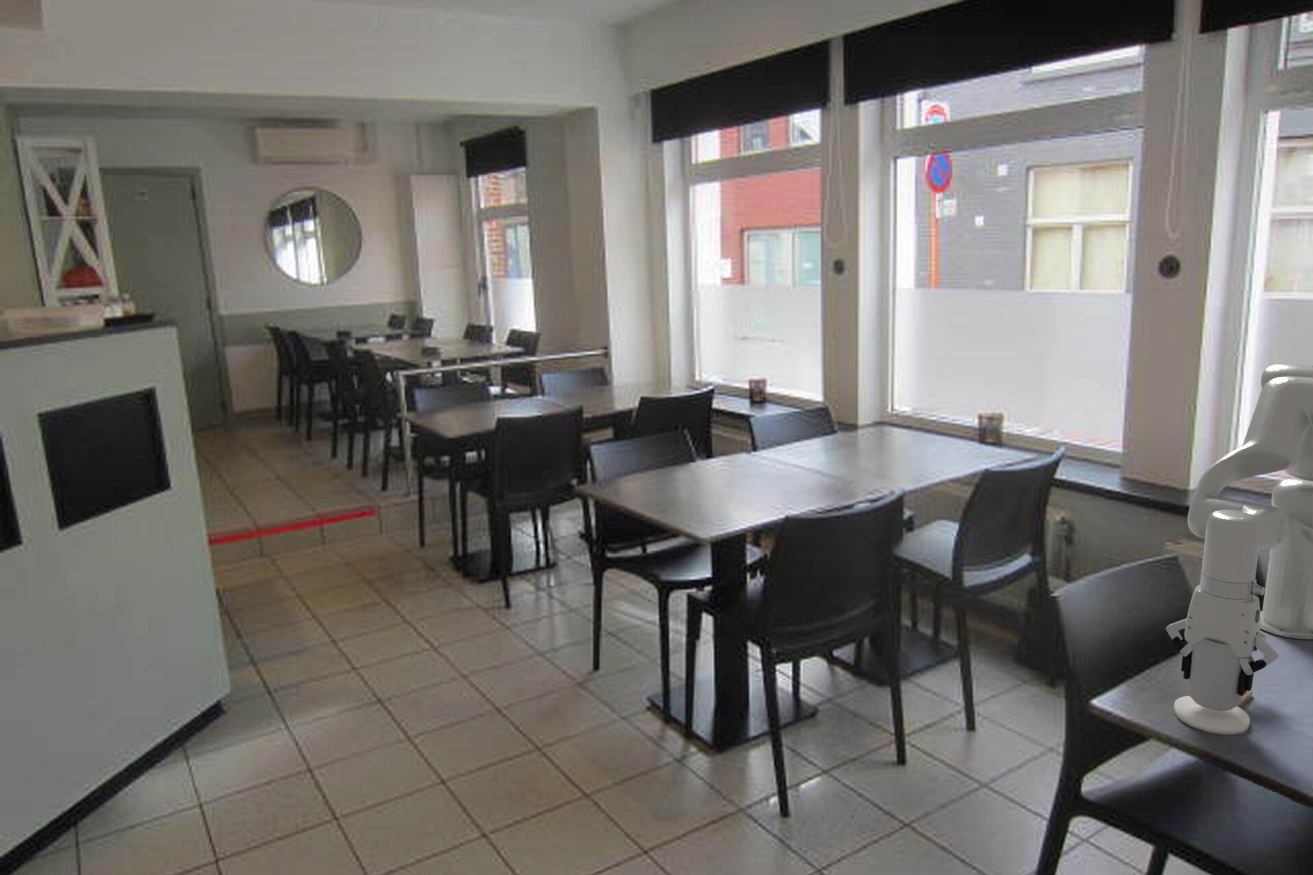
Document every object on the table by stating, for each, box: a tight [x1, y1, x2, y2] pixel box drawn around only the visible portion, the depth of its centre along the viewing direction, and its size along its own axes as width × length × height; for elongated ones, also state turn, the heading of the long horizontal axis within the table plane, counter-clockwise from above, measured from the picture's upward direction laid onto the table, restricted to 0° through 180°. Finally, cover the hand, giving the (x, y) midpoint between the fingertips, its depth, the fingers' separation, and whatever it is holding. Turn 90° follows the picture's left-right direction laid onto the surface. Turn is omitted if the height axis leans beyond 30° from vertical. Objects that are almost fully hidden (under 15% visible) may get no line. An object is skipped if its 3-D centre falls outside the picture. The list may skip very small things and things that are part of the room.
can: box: [1187, 638, 1243, 711], centre depth 154 cm, size 8×8×12 cm
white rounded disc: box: [1173, 695, 1251, 736], centre depth 156 cm, size 11×11×1 cm
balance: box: [1237, 632, 1267, 708], centre depth 162 cm, size 14×6×14 cm, turn 133°
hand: (1215, 683), depth 155 cm, fingers closed on can, 7 cm apart
